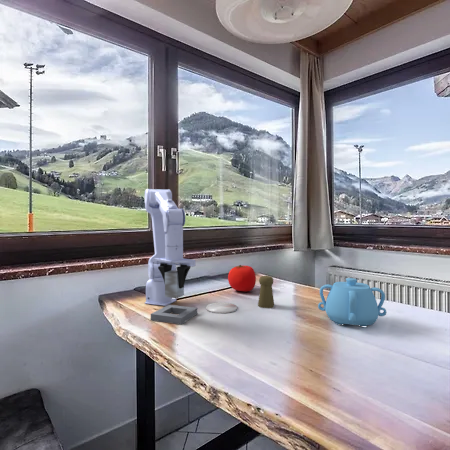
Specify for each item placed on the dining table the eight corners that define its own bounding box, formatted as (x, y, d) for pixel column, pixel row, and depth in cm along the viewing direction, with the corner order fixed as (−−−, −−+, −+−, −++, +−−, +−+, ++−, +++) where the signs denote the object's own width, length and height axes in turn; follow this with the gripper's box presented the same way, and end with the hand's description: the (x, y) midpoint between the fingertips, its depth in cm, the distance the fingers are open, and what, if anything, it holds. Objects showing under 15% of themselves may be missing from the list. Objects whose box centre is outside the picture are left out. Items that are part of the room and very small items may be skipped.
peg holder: (150, 320, 102) (150, 313, 102) (169, 310, 112) (169, 304, 112) (181, 324, 98) (181, 318, 98) (197, 313, 108) (197, 307, 108)
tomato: (262, 289, 142) (262, 264, 142) (247, 296, 130) (247, 268, 130) (238, 286, 149) (238, 261, 148) (222, 292, 137) (222, 266, 137)
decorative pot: (354, 311, 111) (354, 272, 110) (392, 326, 95) (392, 281, 95) (313, 316, 105) (314, 275, 105) (347, 333, 90) (347, 285, 90)
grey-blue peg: (165, 296, 104) (164, 272, 103) (172, 293, 108) (172, 270, 107) (177, 298, 102) (176, 273, 102) (184, 294, 106) (183, 271, 106)
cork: (274, 308, 114) (274, 278, 113) (257, 307, 115) (257, 277, 115) (274, 303, 120) (274, 274, 119) (258, 303, 121) (258, 274, 120)
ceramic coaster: (201, 311, 111) (201, 309, 111) (213, 302, 121) (213, 301, 121) (230, 314, 107) (230, 313, 107) (241, 305, 117) (241, 304, 117)
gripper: (148, 246, 103) (148, 287, 104) (188, 247, 98) (188, 291, 98) (160, 244, 110) (160, 283, 110) (198, 245, 104) (198, 286, 105)
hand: (174, 287), depth 105 cm, fingers closed on grey-blue peg, 4 cm apart
